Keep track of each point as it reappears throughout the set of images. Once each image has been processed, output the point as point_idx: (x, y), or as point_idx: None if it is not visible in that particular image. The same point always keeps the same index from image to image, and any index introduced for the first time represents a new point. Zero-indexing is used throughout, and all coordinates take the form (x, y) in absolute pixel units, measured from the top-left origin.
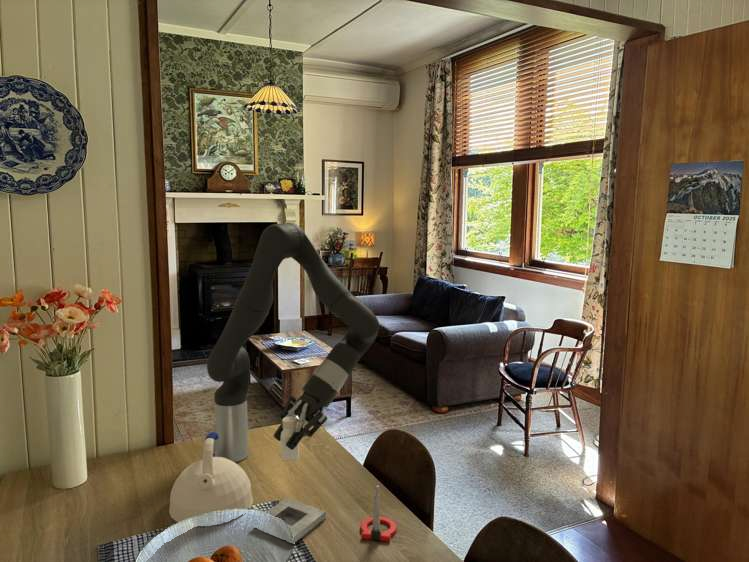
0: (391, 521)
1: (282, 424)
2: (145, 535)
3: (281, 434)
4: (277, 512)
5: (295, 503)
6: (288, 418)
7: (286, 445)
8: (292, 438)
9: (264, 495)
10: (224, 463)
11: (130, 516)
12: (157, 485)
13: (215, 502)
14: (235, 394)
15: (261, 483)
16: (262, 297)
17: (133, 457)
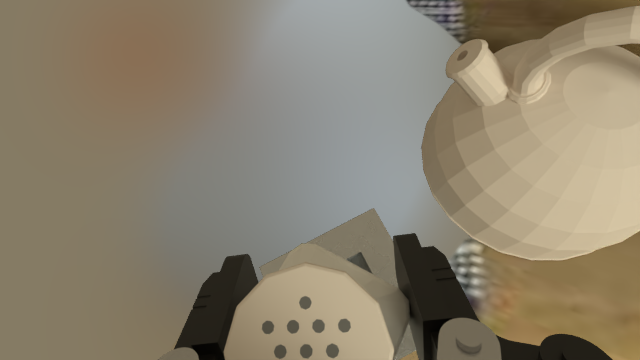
0: None
1: (429, 309)
2: (451, 25)
3: (324, 255)
4: (379, 274)
5: (401, 341)
6: (330, 348)
7: (238, 255)
8: (213, 299)
9: (520, 293)
10: (585, 138)
11: (539, 7)
12: None
13: (444, 121)
14: None
15: (600, 313)
16: None
17: None
